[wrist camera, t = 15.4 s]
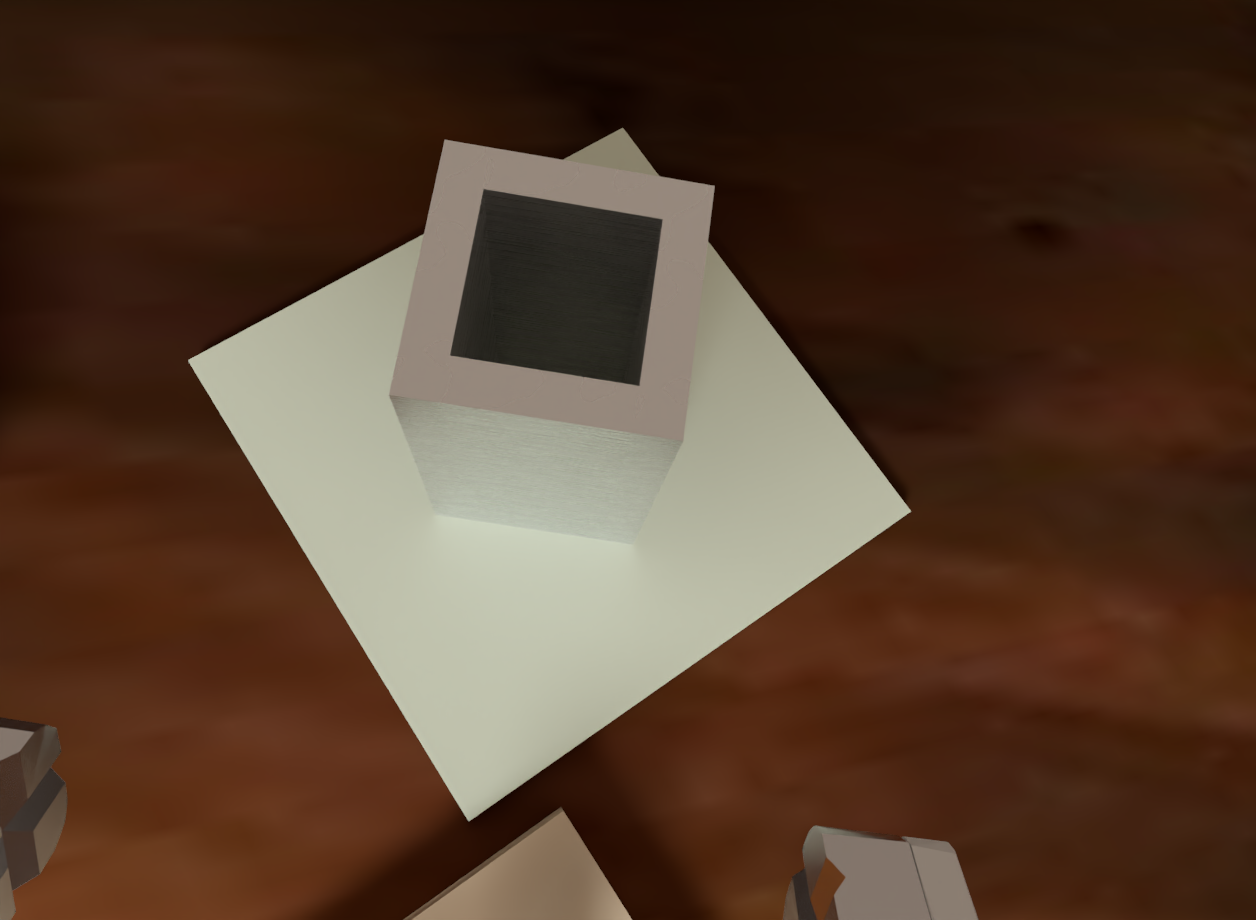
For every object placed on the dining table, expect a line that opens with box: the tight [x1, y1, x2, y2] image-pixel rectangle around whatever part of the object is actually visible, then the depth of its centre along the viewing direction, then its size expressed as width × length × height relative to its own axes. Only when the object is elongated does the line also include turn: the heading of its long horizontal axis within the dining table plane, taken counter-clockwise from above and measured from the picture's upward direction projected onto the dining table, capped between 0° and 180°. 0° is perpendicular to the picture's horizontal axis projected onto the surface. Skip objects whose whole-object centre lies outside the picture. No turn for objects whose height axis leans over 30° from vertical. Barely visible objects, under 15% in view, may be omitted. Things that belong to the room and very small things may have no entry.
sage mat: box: [188, 128, 911, 821], centre depth 27 cm, size 14×14×1 cm
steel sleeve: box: [389, 140, 715, 545], centre depth 23 cm, size 5×5×9 cm
